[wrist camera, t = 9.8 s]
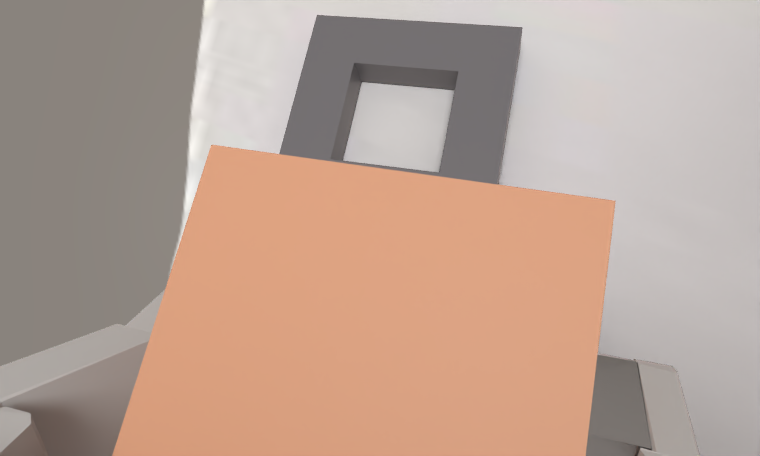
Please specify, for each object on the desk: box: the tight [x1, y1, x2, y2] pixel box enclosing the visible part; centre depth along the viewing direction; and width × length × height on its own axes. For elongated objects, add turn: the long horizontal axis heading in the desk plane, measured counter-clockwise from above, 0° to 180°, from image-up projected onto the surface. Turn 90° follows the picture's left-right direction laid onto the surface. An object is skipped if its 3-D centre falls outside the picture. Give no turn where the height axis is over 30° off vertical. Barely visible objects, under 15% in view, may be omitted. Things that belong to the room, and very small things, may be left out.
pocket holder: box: [279, 15, 522, 185], centre depth 30 cm, size 12×12×2 cm
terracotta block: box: [112, 145, 615, 456], centre depth 9 cm, size 4×4×8 cm
